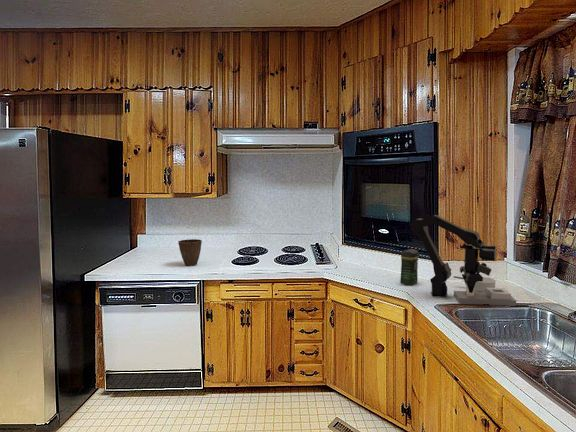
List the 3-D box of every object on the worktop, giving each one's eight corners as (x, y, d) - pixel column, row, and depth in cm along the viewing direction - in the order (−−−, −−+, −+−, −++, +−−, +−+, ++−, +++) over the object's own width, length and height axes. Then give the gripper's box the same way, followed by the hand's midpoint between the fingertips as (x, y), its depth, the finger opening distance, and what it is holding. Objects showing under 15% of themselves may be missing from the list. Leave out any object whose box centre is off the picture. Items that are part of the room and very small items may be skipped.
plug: (467, 299, 195) (467, 283, 195) (465, 297, 198) (466, 282, 198) (474, 300, 195) (474, 284, 194) (472, 298, 198) (473, 282, 197)
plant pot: (175, 267, 270) (174, 242, 269) (184, 262, 285) (183, 239, 284) (197, 267, 269) (197, 242, 267) (205, 262, 283) (204, 239, 282)
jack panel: (458, 303, 192) (459, 292, 191) (453, 295, 204) (454, 285, 203) (516, 306, 187) (516, 295, 187) (507, 298, 199) (507, 287, 198)
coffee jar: (412, 286, 220) (413, 251, 219) (398, 284, 225) (398, 249, 224) (419, 282, 228) (420, 248, 226) (405, 280, 233) (406, 247, 231)
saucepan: (455, 284, 225) (455, 273, 225) (497, 289, 215) (497, 278, 214) (451, 289, 215) (451, 278, 215) (494, 294, 205) (494, 283, 204)
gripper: (496, 263, 184) (494, 298, 186) (484, 255, 202) (483, 287, 204) (468, 262, 186) (467, 297, 188) (460, 254, 204) (458, 286, 206)
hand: (470, 291), depth 196 cm, fingers closed on plug, 3 cm apart
